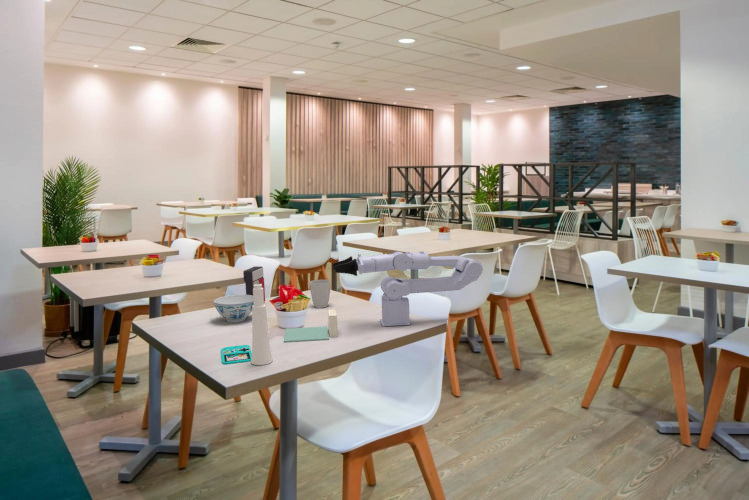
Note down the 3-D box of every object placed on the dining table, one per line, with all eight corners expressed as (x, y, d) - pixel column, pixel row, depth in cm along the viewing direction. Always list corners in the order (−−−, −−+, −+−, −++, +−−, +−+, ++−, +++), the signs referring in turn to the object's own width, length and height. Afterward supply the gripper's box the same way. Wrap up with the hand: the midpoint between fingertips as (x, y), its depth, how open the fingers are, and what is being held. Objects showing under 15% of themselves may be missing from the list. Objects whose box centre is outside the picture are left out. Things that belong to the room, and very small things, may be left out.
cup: (334, 304, 217) (333, 280, 216) (324, 309, 210) (323, 284, 208) (317, 303, 220) (316, 279, 219) (306, 307, 213) (305, 282, 212)
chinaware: (261, 314, 205) (260, 294, 204) (251, 325, 190) (250, 303, 189) (222, 314, 205) (221, 294, 204) (209, 325, 190) (207, 304, 189)
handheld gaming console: (249, 343, 167) (253, 359, 152) (249, 346, 167) (253, 362, 153) (220, 346, 164) (222, 362, 150) (220, 350, 164) (222, 366, 150)
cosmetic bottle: (246, 364, 150) (242, 286, 147) (258, 357, 156) (254, 281, 153) (265, 366, 148) (261, 287, 145) (276, 359, 154) (273, 282, 151)
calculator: (255, 308, 214) (253, 271, 212) (245, 308, 215) (243, 270, 213) (266, 302, 225) (264, 266, 223) (256, 301, 226) (254, 266, 224)
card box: (336, 329, 182) (335, 309, 181) (337, 336, 174) (337, 315, 173) (328, 330, 182) (327, 309, 181) (329, 337, 174) (328, 315, 173)
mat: (327, 327, 185) (327, 326, 185) (328, 339, 171) (328, 338, 171) (285, 329, 183) (285, 328, 183) (284, 342, 169) (283, 341, 169)
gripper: (369, 250, 191) (331, 254, 189) (376, 254, 177) (334, 258, 175) (371, 270, 192) (333, 274, 190) (378, 275, 178) (336, 279, 176)
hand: (334, 267), depth 182 cm, fingers open, 7 cm apart
